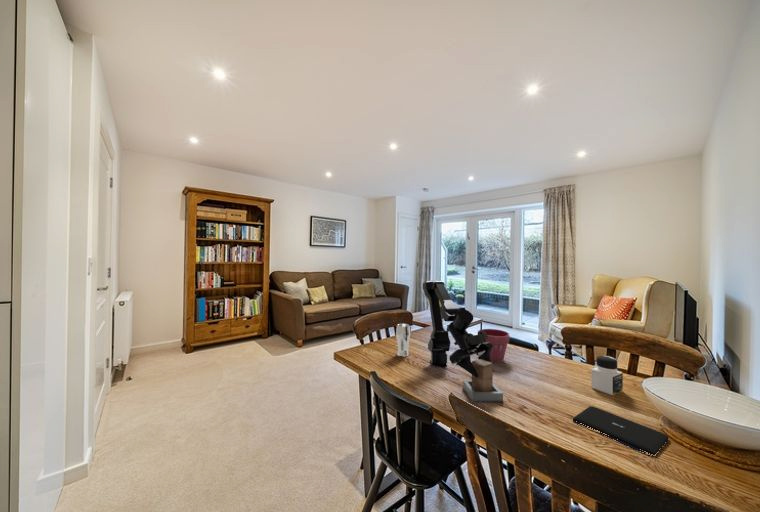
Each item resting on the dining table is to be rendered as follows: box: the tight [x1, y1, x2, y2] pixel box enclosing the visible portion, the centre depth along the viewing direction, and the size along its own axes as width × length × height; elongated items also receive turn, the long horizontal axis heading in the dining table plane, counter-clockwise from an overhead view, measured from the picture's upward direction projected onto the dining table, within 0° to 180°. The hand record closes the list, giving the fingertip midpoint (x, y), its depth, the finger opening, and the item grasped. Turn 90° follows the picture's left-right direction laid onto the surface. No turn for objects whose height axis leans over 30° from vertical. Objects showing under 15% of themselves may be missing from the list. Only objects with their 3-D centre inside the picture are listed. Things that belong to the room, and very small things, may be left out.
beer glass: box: [395, 323, 411, 358], centre depth 142 cm, size 7×7×15 cm
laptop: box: [572, 405, 669, 455], centre depth 81 cm, size 16×20×2 cm
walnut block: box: [471, 358, 494, 392], centre depth 101 cm, size 5×5×11 cm
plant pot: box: [477, 328, 510, 363], centre depth 137 cm, size 14×14×13 cm
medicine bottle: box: [590, 355, 624, 396], centre depth 105 cm, size 7×7×12 cm
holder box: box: [462, 379, 504, 403], centre depth 101 cm, size 10×10×3 cm
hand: (485, 374), depth 100 cm, fingers open, 8 cm apart
